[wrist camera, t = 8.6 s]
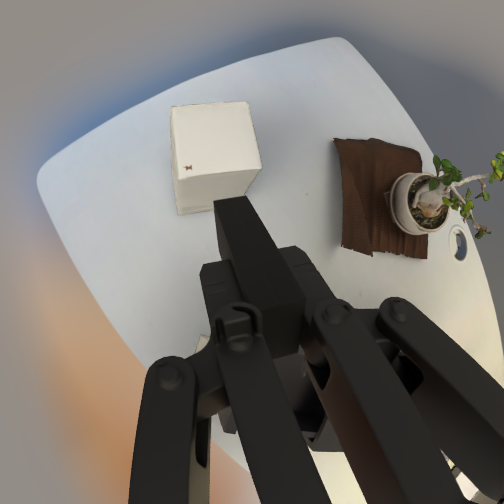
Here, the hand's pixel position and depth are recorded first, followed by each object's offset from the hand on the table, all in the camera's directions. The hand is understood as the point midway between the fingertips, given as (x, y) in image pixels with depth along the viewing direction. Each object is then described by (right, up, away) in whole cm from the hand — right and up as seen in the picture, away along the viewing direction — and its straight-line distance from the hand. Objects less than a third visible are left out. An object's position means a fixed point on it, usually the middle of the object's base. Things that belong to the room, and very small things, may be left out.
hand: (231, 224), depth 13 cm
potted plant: (+21, +7, +28) cm, 36 cm away
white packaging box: (-5, +7, +22) cm, 23 cm away
